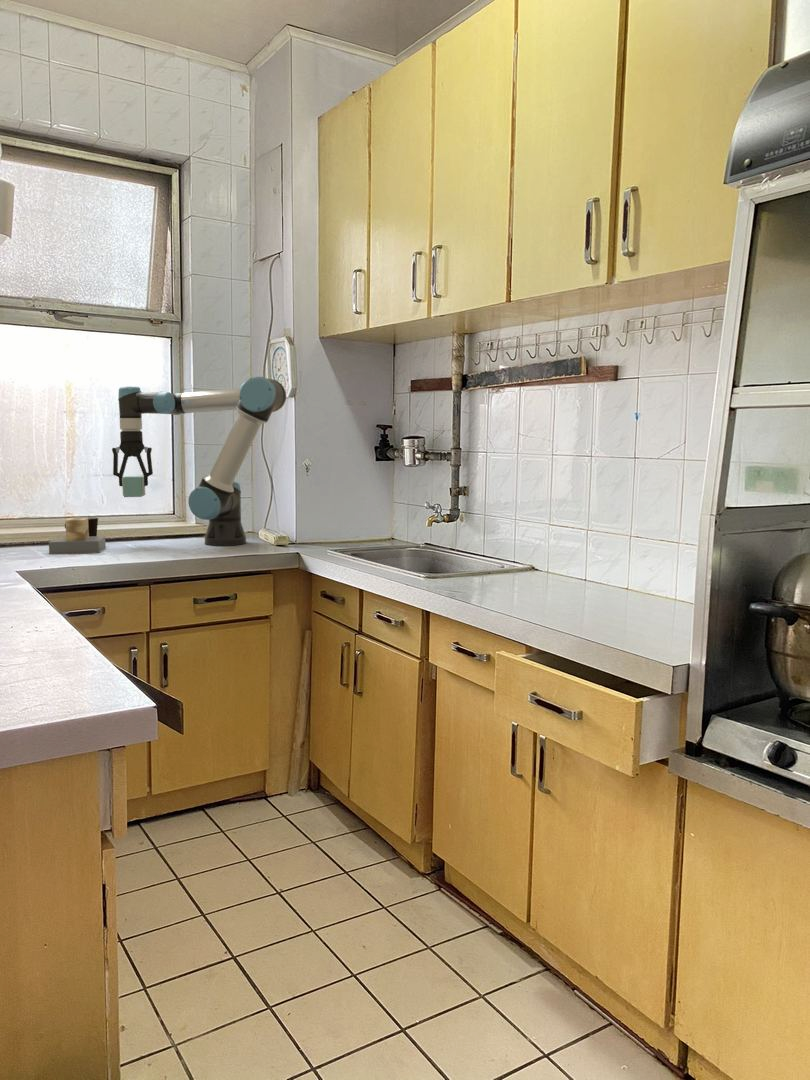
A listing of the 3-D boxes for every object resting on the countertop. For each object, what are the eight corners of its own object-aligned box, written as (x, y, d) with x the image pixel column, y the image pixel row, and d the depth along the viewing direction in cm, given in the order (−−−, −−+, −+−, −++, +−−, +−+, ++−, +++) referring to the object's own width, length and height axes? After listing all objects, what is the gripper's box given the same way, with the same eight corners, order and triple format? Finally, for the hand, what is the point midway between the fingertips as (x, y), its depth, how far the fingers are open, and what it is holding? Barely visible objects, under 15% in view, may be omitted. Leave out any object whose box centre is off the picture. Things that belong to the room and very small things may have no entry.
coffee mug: (104, 544, 302) (103, 517, 300) (84, 547, 294) (82, 519, 293) (84, 542, 308) (82, 515, 307) (63, 545, 301) (62, 517, 299)
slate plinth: (105, 547, 295) (105, 536, 295) (99, 552, 282) (98, 541, 281) (58, 548, 292) (57, 537, 292) (49, 553, 279) (48, 542, 278)
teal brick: (144, 495, 301) (143, 476, 300) (141, 496, 293) (140, 477, 293) (127, 495, 300) (126, 476, 299) (123, 497, 292) (122, 477, 291)
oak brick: (89, 537, 291) (88, 517, 290) (84, 540, 283) (83, 520, 282) (70, 537, 290) (70, 518, 289) (66, 540, 282) (65, 520, 281)
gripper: (159, 430, 299) (162, 494, 302) (104, 430, 296) (108, 495, 299) (157, 430, 292) (160, 495, 295) (101, 430, 288) (104, 496, 291)
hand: (134, 495), depth 297 cm, fingers closed on teal brick, 6 cm apart
